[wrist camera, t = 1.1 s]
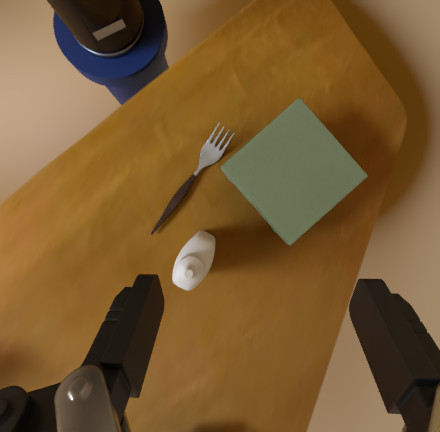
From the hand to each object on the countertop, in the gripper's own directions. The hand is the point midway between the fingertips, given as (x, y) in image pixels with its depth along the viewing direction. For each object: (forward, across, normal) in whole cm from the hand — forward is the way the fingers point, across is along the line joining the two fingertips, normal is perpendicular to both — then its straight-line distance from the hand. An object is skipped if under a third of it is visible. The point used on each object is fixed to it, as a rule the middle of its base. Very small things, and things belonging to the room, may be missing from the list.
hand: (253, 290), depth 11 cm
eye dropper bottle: (+18, +6, +14) cm, 23 cm away
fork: (+22, +7, +6) cm, 24 cm away
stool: (+23, -4, +6) cm, 25 cm away
